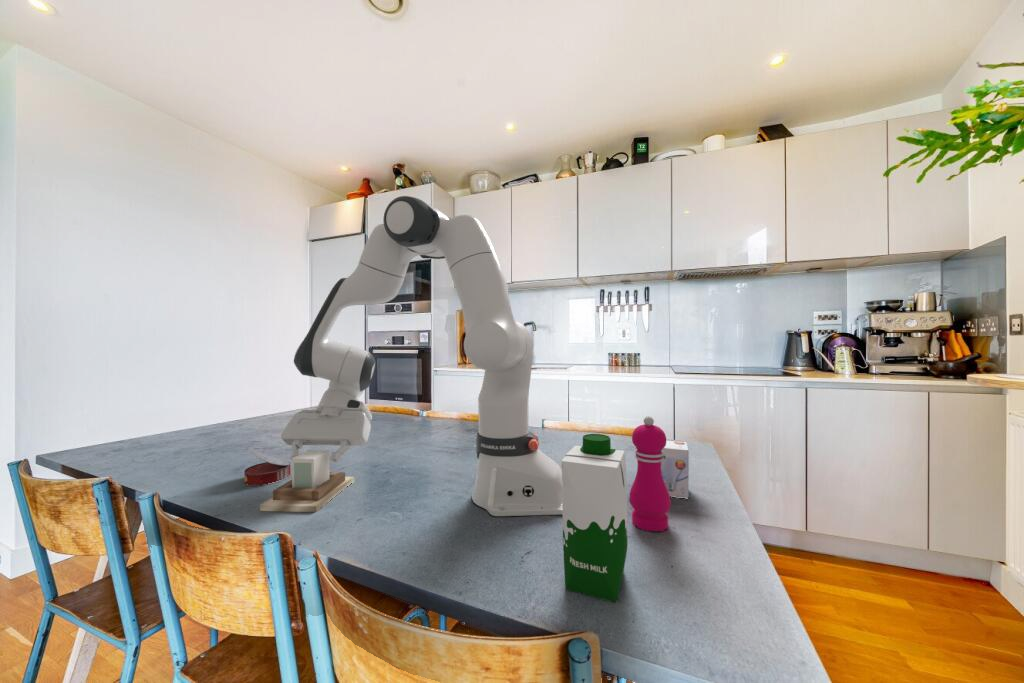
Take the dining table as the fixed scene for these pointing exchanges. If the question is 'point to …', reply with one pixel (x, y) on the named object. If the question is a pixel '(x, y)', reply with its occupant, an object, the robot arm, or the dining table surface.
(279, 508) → the display base
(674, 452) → the light bulb box
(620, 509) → the milk carton
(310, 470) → the picture block
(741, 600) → the dining table surface
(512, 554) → the dining table surface
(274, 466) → the canned food
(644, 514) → the pepper mill
